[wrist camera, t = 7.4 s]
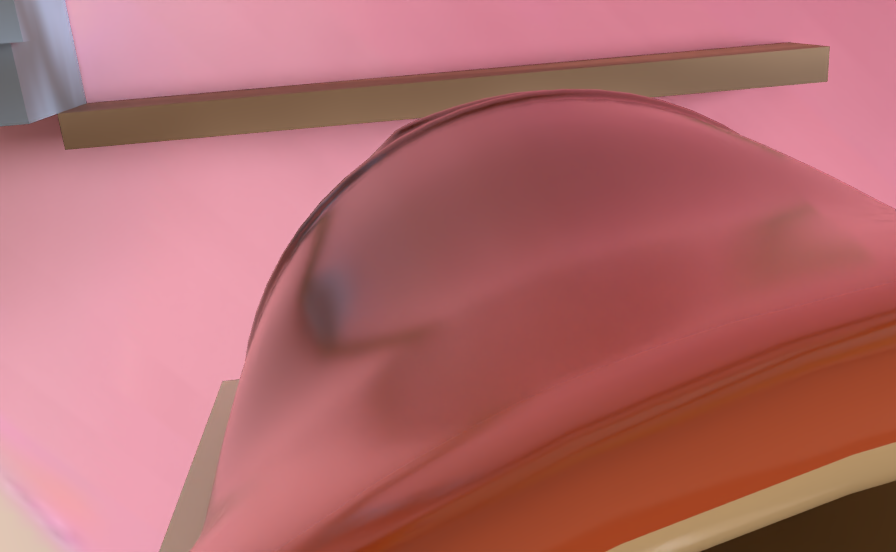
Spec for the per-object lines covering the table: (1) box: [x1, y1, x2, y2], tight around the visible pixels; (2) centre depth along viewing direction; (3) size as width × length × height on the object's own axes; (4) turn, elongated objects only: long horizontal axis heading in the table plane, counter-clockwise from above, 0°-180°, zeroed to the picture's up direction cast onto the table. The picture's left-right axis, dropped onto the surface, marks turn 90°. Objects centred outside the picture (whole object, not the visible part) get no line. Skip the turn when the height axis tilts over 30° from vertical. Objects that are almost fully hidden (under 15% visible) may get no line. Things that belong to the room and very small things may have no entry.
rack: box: [0, 0, 830, 150], centre depth 24 cm, size 35×24×6 cm
